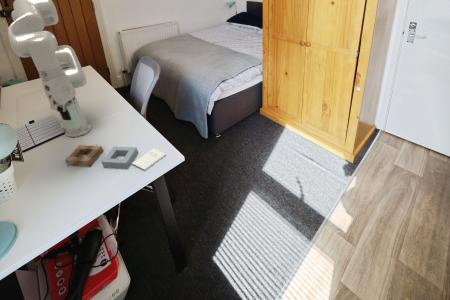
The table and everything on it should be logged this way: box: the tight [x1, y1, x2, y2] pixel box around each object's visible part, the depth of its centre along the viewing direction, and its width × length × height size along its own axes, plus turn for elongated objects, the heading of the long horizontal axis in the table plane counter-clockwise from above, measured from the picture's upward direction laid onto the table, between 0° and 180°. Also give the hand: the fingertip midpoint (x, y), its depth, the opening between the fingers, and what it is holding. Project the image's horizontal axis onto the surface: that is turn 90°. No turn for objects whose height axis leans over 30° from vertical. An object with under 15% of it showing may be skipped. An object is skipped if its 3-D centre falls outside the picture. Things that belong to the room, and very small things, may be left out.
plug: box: [60, 102, 82, 129], centre depth 112 cm, size 4×4×10 cm
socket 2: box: [101, 146, 139, 170], centre depth 121 cm, size 11×11×3 cm
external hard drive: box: [131, 148, 167, 172], centre depth 121 cm, size 2×8×12 cm
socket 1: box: [65, 144, 104, 168], centre depth 124 cm, size 11×11×3 cm
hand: (70, 116), depth 112 cm, fingers closed on plug, 4 cm apart
